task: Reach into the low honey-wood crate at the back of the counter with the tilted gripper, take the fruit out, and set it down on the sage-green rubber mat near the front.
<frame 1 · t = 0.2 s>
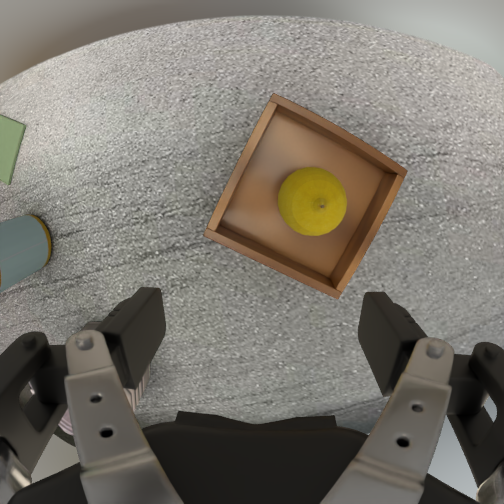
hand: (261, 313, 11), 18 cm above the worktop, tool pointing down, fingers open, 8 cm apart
fruit: (304, 196, 27), resting on crate
mat: (2, 147, 26), on the worktop
can: (113, 356, 34), on the worktop
crate: (304, 196, 28), on the worktop
bottle: (36, 240, 30), on the worktop
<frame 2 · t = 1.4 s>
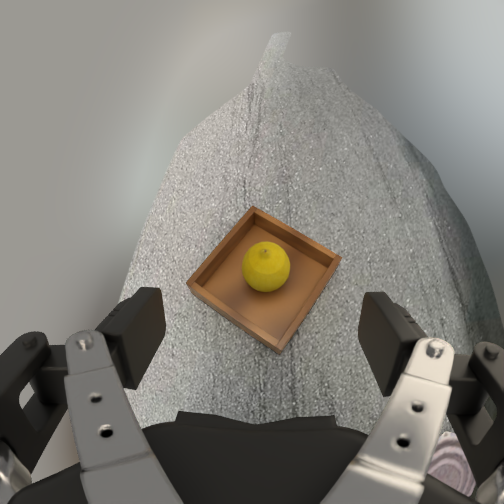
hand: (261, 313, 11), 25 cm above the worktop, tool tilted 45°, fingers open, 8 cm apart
fruit: (265, 280, 38), resting on crate
can: (392, 468, 26), on the worktop
crate: (265, 281, 38), on the worktop
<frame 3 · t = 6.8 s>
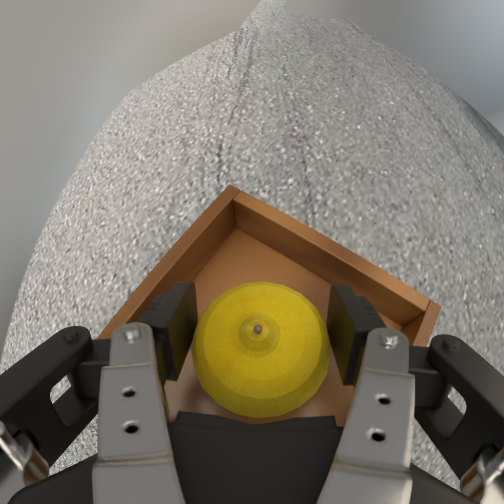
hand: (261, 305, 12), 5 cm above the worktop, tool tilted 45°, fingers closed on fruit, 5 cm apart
fruit: (260, 362, 15), resting on crate, touching gripper
crate: (260, 363, 15), on the worktop
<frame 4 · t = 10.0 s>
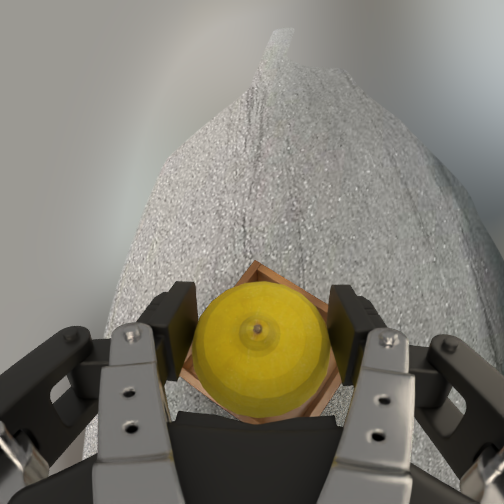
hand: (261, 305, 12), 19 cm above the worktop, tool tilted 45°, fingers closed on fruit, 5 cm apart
fruit: (261, 362, 15), point 14 cm above the worktop, touching gripper
crate: (272, 358, 29), on the worktop
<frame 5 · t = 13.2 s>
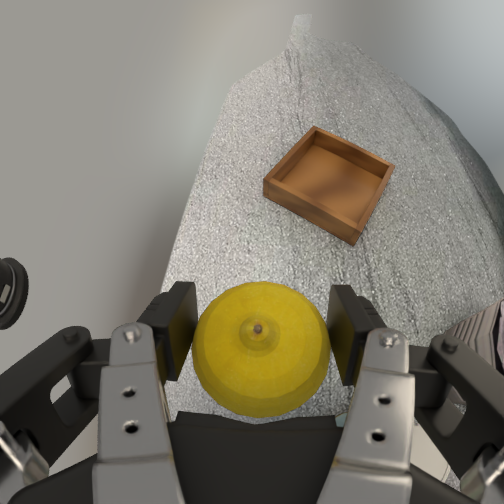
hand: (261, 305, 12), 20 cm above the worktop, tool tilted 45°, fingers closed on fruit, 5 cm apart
fruit: (260, 362, 15), point 15 cm above the worktop, touching gripper
can: (466, 363, 28), on the worktop
crate: (330, 187, 40), on the worktop
bottle: (347, 441, 25), on the worktop
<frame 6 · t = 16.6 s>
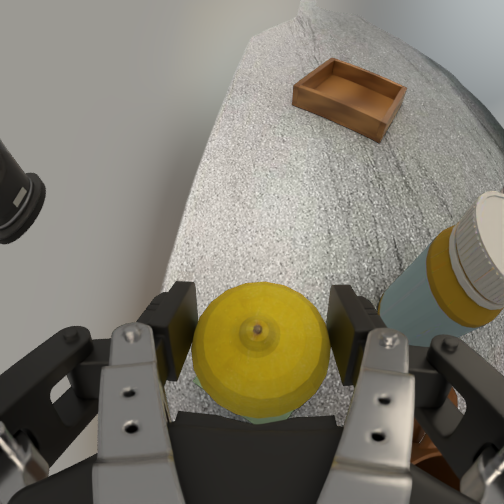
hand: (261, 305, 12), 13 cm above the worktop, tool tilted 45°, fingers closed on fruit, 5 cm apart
mug: (379, 452, 19), on the worktop
fruit: (260, 362, 15), point 9 cm above the worktop, touching gripper
crate: (351, 102, 39), on the worktop
bottle: (407, 318, 24), on the worktop
when the fingers open (5 cm above the worktop, at t = 19.4 s): fruit stays where it is, resting on mat.
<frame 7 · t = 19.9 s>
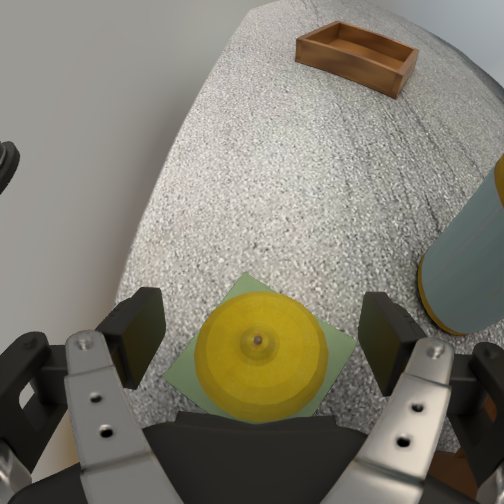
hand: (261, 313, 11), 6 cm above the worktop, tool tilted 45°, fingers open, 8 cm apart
mug: (423, 471, 12), on the worktop
fruit: (261, 367, 16), resting on mat
mat: (261, 364, 16), on the worktop
crate: (360, 62, 32), on the worktop
bottle: (451, 291, 17), on the worktop
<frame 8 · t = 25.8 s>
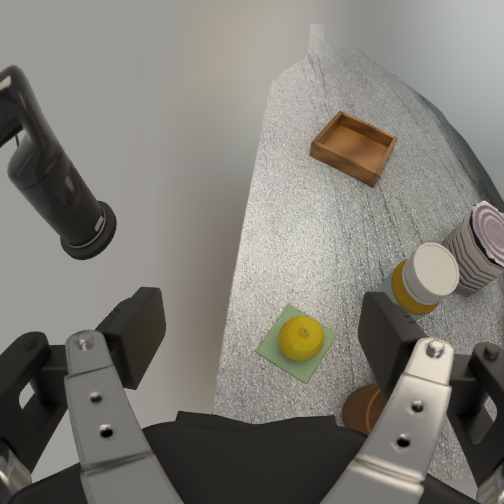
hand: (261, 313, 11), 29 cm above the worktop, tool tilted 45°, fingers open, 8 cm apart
mug: (371, 396, 34), on the worktop
fruit: (297, 344, 38), resting on mat
mat: (297, 343, 38), on the worktop
can: (460, 267, 42), on the worktop
crate: (354, 151, 55), on the worktop
bottle: (386, 311, 40), on the worktop
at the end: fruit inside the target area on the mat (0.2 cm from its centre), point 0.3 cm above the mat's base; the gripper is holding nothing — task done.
